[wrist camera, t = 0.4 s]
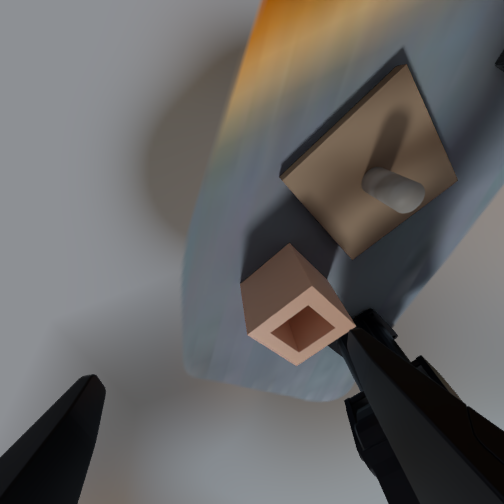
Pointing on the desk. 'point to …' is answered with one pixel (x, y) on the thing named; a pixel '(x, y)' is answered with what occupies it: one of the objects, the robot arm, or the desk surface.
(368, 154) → the pin board
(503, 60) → the ammunition clip
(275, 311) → the collar
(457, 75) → the desk surface
